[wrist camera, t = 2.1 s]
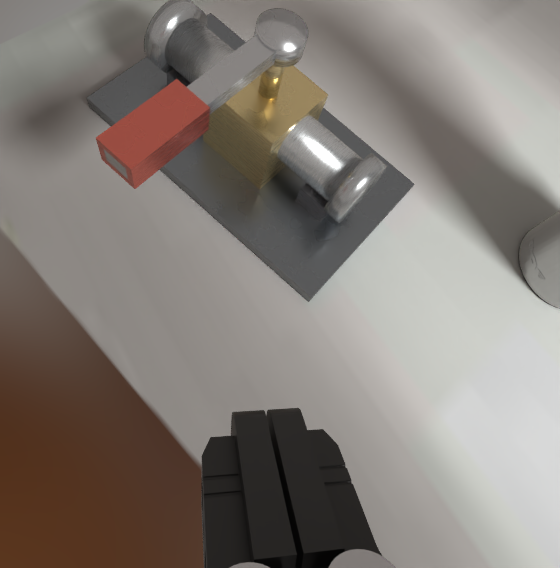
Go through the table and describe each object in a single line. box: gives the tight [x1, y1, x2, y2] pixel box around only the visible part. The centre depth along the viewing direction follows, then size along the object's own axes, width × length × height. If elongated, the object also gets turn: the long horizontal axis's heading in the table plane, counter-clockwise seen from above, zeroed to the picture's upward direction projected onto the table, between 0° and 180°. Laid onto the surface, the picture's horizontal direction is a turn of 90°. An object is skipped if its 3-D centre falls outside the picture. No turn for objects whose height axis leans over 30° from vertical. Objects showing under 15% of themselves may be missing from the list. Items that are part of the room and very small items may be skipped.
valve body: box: [87, 0, 414, 302], centre depth 41 cm, size 27×16×12 cm, turn 49°
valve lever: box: [96, 8, 308, 189], centre depth 32 cm, size 17×4×2 cm, turn 139°
